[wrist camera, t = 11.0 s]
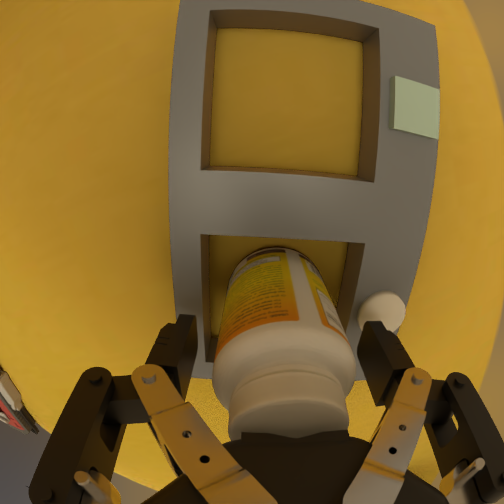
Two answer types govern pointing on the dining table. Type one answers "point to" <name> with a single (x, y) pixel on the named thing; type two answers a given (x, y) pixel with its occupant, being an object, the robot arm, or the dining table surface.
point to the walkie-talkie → (14, 407)
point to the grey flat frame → (308, 182)
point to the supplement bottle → (282, 349)
